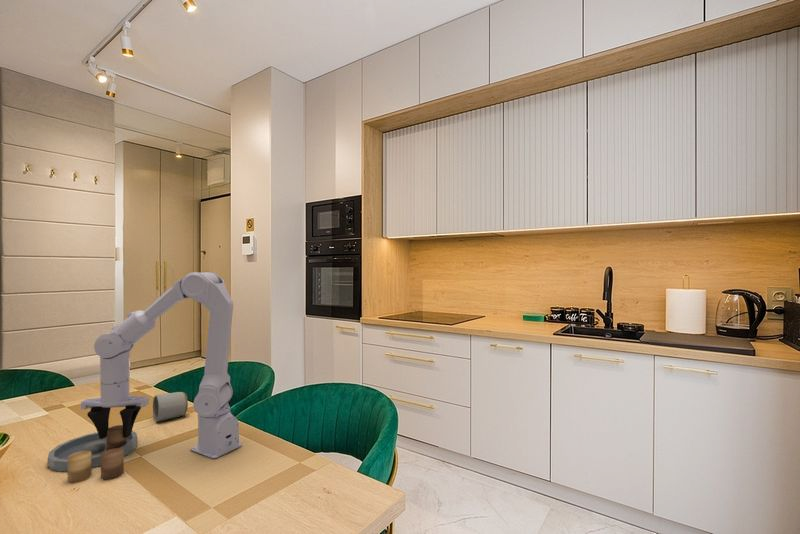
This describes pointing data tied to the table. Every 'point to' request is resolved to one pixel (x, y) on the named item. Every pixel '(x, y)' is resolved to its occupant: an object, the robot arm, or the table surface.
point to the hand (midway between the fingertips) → (115, 436)
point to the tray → (85, 443)
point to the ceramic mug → (169, 406)
